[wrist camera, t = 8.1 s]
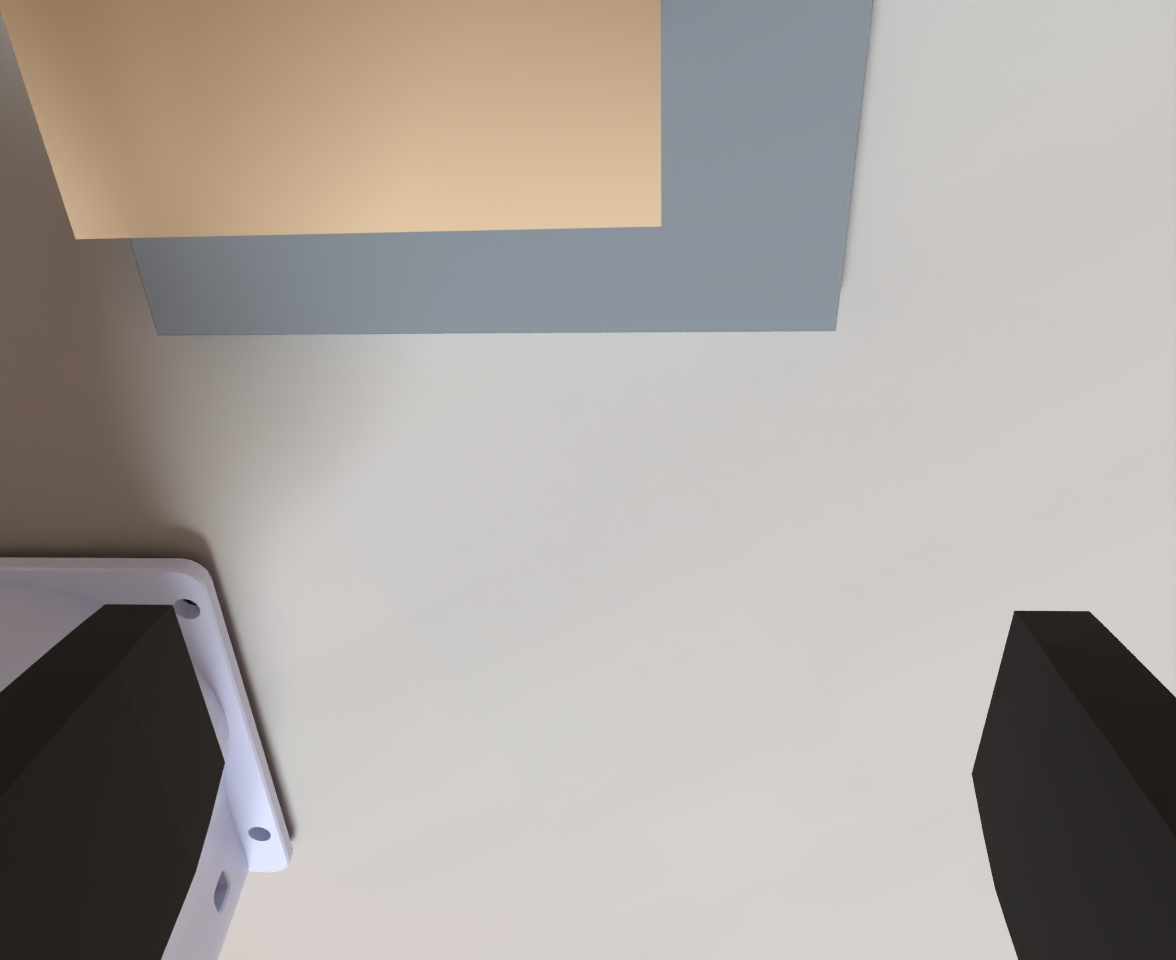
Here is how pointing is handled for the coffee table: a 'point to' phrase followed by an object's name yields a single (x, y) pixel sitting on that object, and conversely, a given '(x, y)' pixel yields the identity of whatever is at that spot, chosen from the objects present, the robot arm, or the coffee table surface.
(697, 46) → the slate mat
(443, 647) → the coffee table surface
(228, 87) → the stool
